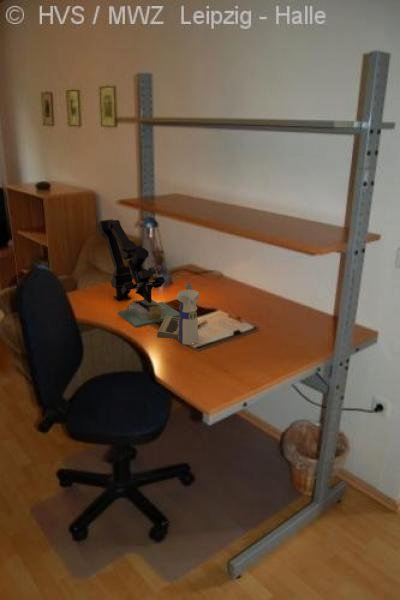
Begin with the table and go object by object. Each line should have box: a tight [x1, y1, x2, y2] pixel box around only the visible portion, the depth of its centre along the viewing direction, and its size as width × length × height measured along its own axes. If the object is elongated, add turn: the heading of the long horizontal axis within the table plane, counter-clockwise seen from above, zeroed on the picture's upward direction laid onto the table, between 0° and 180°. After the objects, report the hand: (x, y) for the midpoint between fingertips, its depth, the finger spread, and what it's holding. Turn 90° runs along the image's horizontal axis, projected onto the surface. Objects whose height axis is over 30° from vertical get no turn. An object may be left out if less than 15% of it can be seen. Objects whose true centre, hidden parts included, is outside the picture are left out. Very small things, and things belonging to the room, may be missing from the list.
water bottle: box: [176, 281, 200, 346], centre depth 176 cm, size 8×9×25 cm
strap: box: [137, 298, 157, 307], centre depth 202 cm, size 12×3×1 cm, turn 33°
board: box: [117, 301, 180, 329], centre depth 204 cm, size 18×22×1 cm
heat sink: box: [128, 298, 166, 321], centre depth 202 cm, size 15×11×6 cm
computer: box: [156, 316, 179, 339], centre depth 190 cm, size 16×8×3 cm, turn 173°
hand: (150, 302), depth 199 cm, fingers closed
